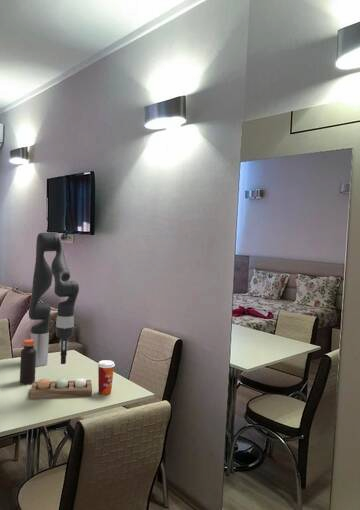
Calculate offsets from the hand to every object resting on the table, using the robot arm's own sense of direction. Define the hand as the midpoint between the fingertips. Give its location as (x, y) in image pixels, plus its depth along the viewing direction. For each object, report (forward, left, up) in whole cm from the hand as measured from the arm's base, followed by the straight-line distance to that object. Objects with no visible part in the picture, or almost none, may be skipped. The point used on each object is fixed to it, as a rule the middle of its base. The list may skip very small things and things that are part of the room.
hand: (63, 363), depth 182 cm
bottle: (-14, -16, -13) cm, 25 cm away
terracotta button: (0, -8, -12) cm, 14 cm away
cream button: (0, +8, -12) cm, 14 cm away
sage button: (0, 0, -12) cm, 12 cm away
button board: (0, 0, -13) cm, 13 cm away
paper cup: (+2, +19, -13) cm, 23 cm away
